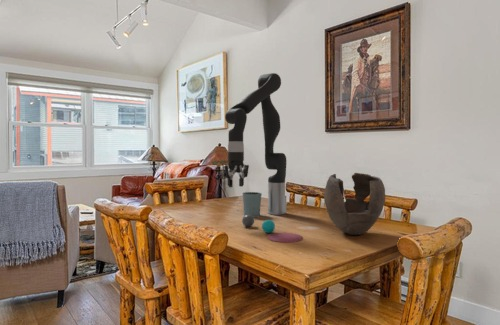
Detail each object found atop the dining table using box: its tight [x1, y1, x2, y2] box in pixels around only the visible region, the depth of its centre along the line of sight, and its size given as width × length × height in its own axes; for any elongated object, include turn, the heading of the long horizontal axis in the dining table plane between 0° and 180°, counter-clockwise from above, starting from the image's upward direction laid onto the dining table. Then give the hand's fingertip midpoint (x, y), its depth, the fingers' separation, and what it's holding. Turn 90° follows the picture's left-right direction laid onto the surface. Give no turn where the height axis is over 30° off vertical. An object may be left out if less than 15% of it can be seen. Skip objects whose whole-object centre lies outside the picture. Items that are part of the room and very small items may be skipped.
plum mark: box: [267, 232, 303, 243], centre depth 135 cm, size 14×14×1 cm
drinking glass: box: [242, 191, 263, 218], centre depth 180 cm, size 10×10×12 cm
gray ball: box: [241, 215, 255, 228], centre depth 154 cm, size 6×6×6 cm
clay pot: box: [323, 172, 386, 236], centre depth 139 cm, size 24×24×25 cm
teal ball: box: [261, 219, 276, 234], centre depth 143 cm, size 6×6×6 cm
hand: (235, 186), depth 161 cm, fingers open, 5 cm apart
